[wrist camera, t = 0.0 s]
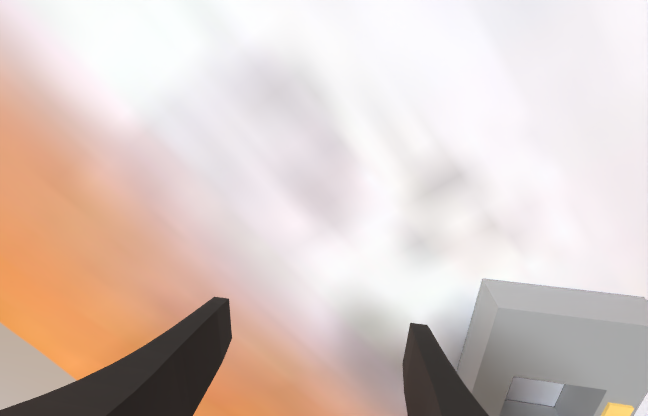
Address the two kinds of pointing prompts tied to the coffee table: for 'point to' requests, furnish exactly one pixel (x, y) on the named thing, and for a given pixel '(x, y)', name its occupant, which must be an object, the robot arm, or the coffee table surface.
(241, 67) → the coffee table surface
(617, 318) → the hole board
